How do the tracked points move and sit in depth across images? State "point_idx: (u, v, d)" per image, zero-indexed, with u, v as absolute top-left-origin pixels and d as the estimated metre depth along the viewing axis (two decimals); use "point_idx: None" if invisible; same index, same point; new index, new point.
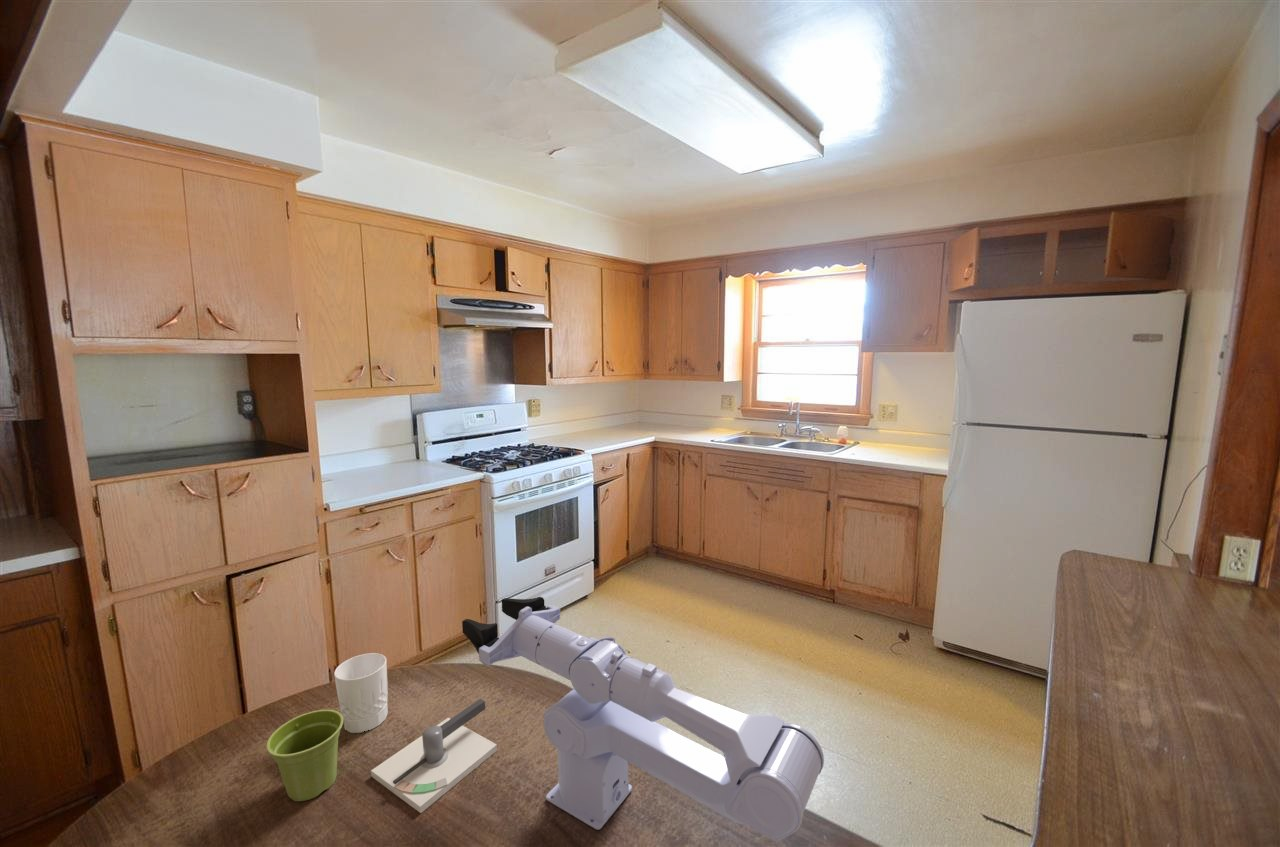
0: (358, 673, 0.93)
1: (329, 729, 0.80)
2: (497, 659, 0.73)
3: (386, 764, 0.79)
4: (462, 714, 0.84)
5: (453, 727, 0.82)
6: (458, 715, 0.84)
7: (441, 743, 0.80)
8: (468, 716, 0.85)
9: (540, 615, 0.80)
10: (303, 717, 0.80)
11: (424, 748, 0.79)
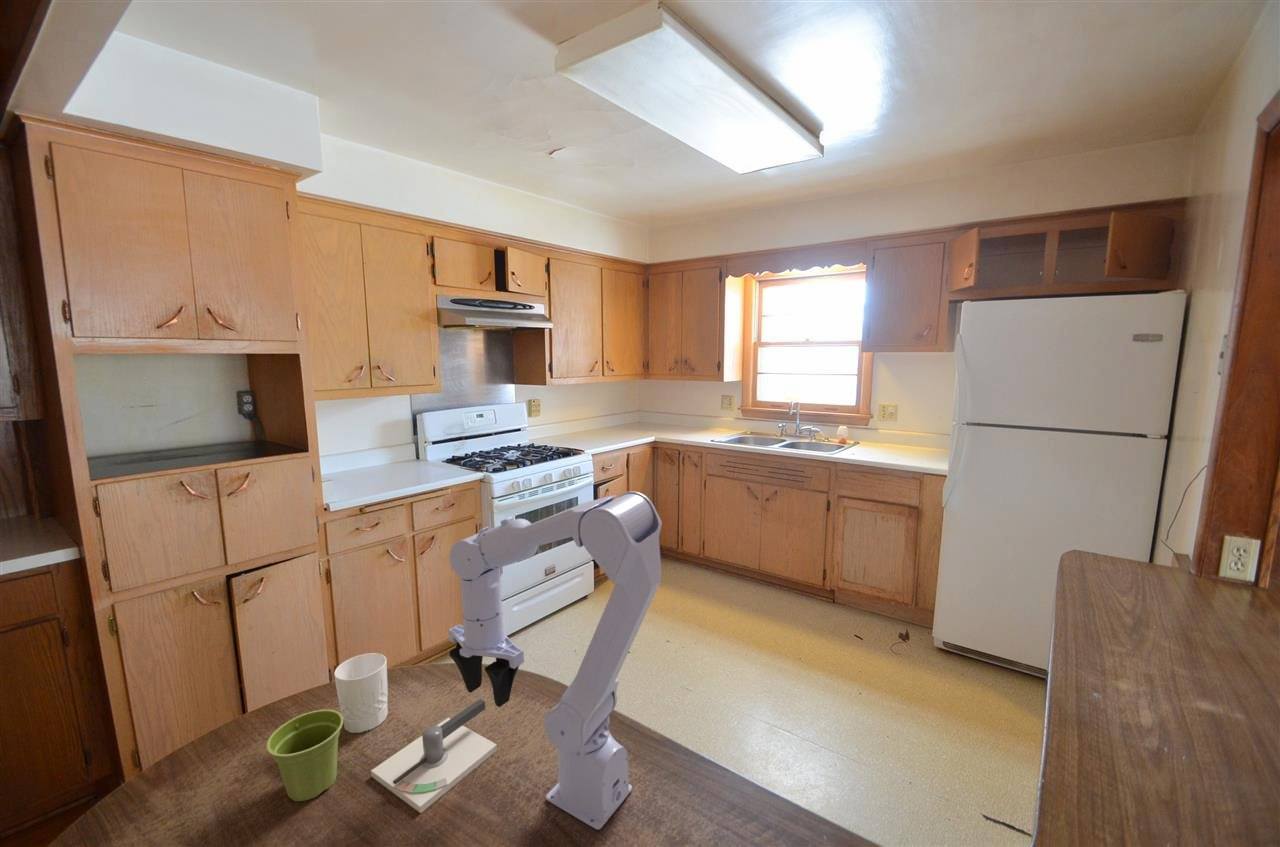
0: (358, 673, 0.93)
1: (329, 729, 0.80)
2: (515, 647, 0.77)
3: (386, 764, 0.79)
4: (462, 714, 0.84)
5: (453, 727, 0.82)
6: (458, 715, 0.84)
7: (441, 743, 0.80)
8: (468, 716, 0.85)
9: (463, 640, 0.80)
10: (303, 717, 0.80)
11: (424, 748, 0.79)
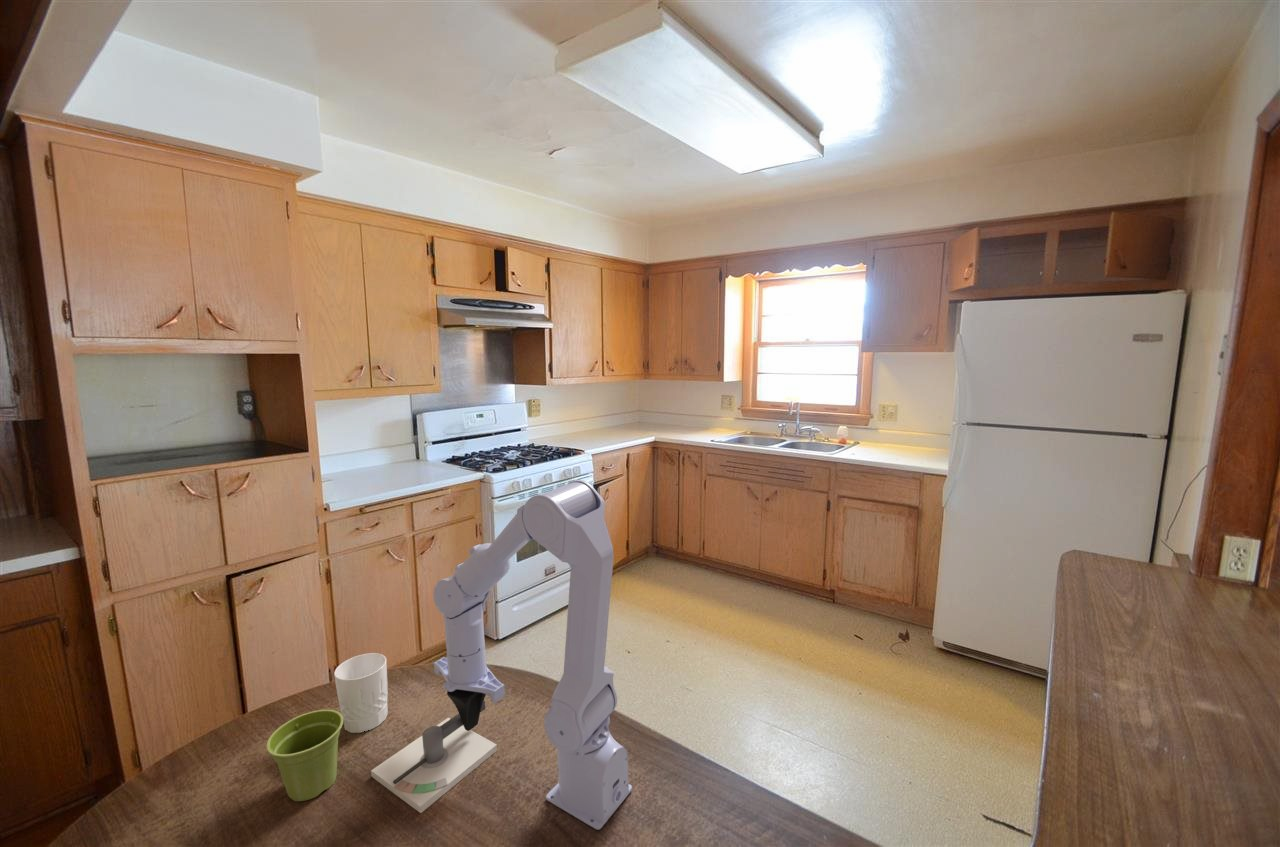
0: (358, 673, 0.93)
1: (329, 729, 0.80)
2: (496, 681, 0.81)
3: (386, 764, 0.79)
4: None
5: (453, 727, 0.82)
6: (458, 715, 0.84)
7: (441, 743, 0.80)
8: None
9: (447, 673, 0.84)
10: (303, 717, 0.80)
11: (424, 748, 0.79)
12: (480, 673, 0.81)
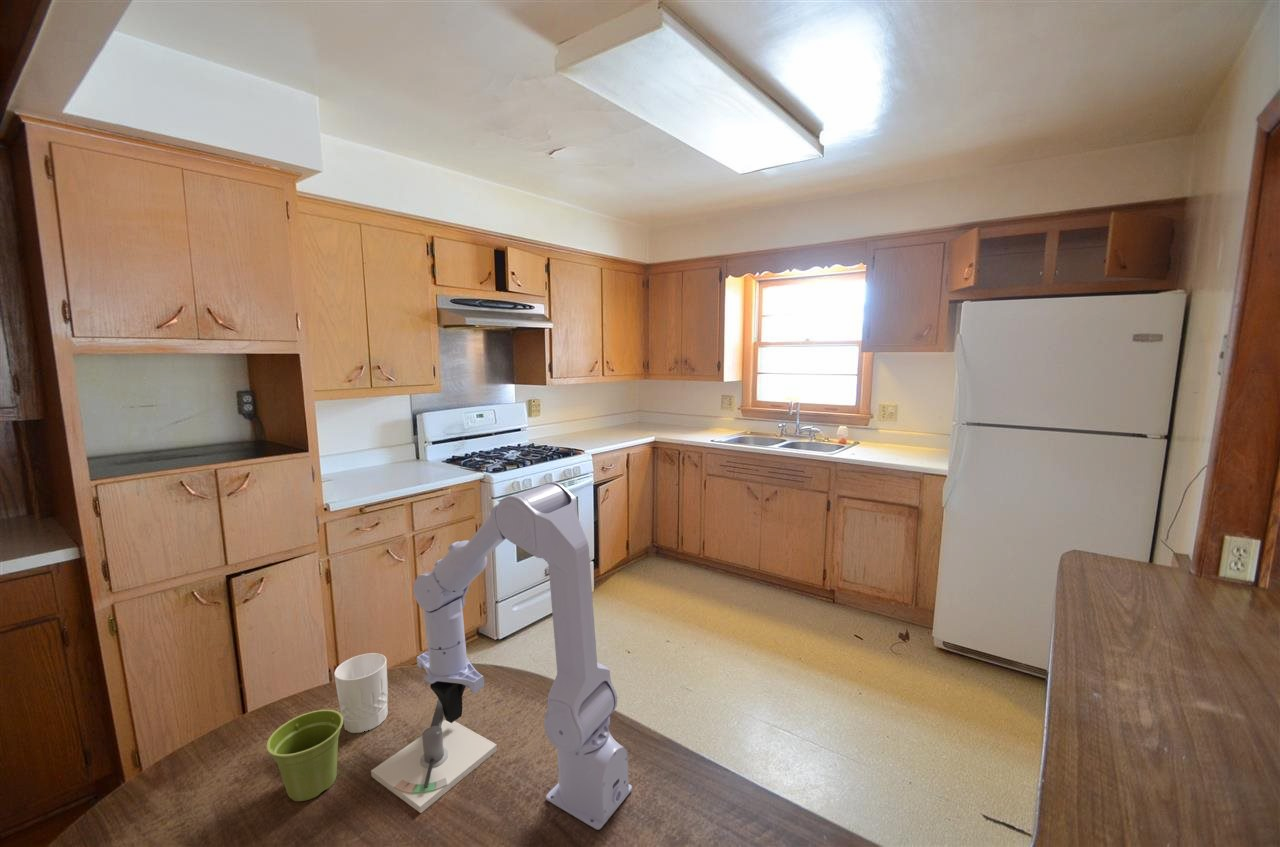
0: (358, 673, 0.93)
1: (329, 729, 0.80)
2: (476, 673, 0.83)
3: (386, 764, 0.79)
4: (439, 711, 0.85)
5: (440, 723, 0.83)
6: (437, 713, 0.84)
7: None
8: None
9: (429, 667, 0.86)
10: (303, 717, 0.80)
11: (430, 749, 0.79)
12: (460, 665, 0.84)
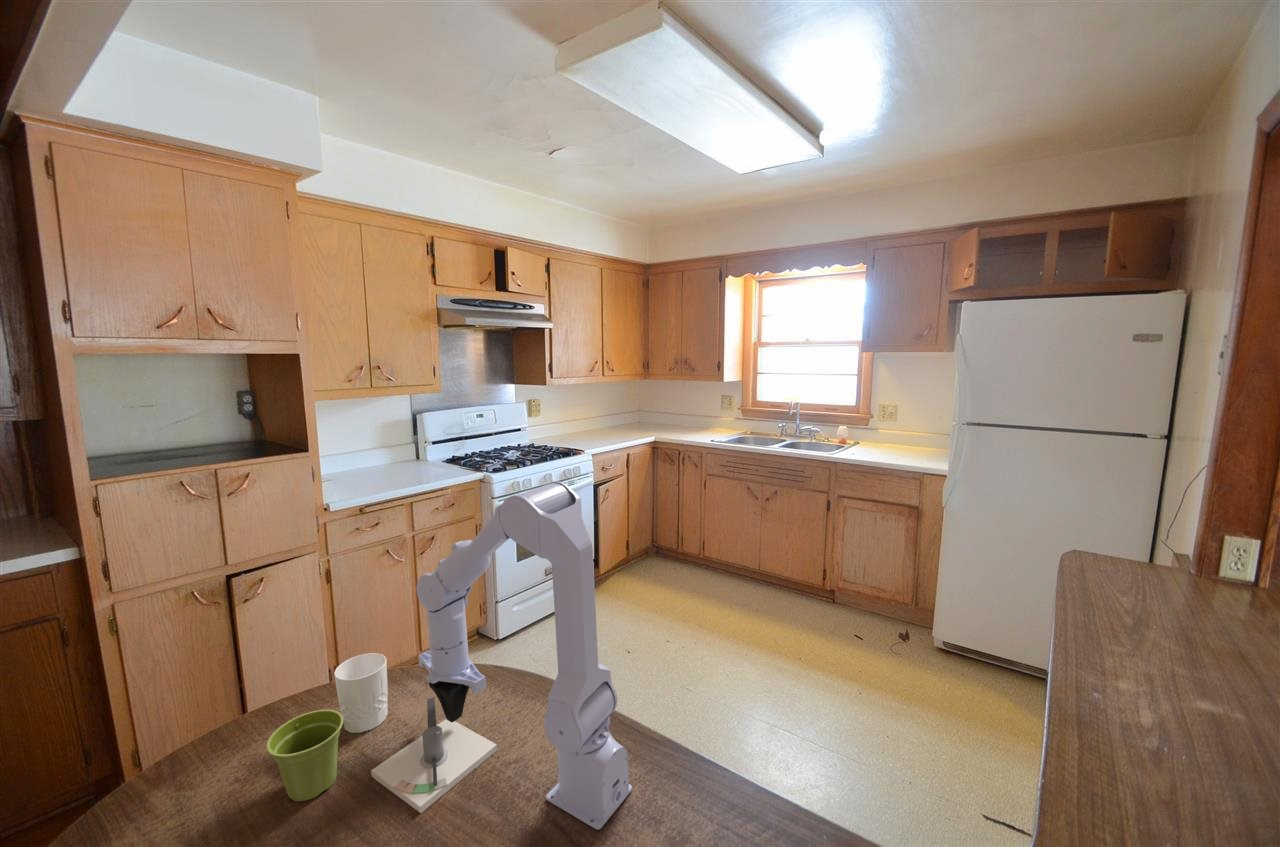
0: (358, 673, 0.93)
1: (329, 729, 0.80)
2: (478, 673, 0.83)
3: (386, 764, 0.79)
4: (432, 712, 0.85)
5: None
6: (430, 715, 0.84)
7: None
8: (435, 712, 0.86)
9: (431, 666, 0.86)
10: (303, 717, 0.80)
11: (432, 749, 0.79)
12: (462, 665, 0.84)
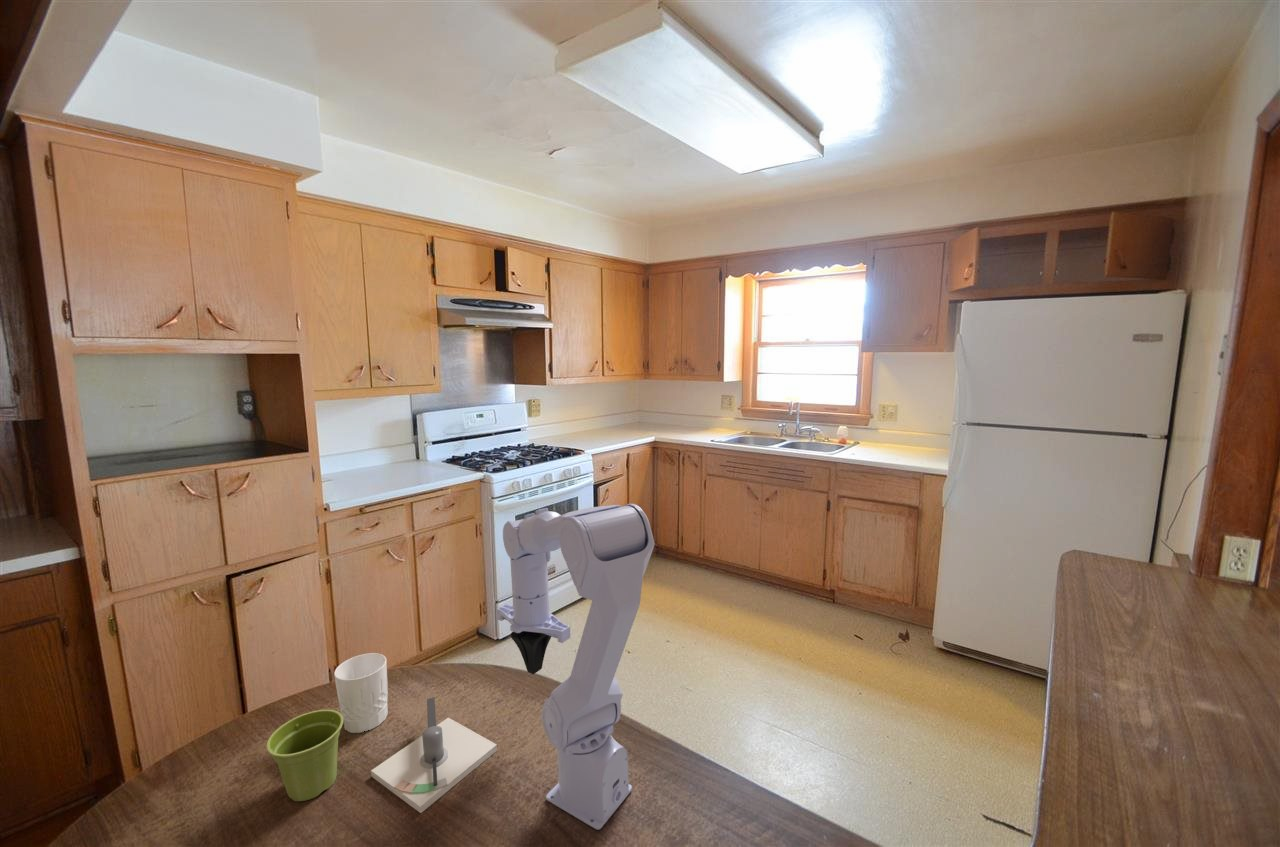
0: (358, 673, 0.93)
1: (329, 729, 0.80)
2: (561, 624, 0.83)
3: (386, 764, 0.79)
4: (432, 712, 0.85)
5: None
6: (430, 715, 0.84)
7: None
8: (435, 712, 0.86)
9: (511, 618, 0.86)
10: (303, 717, 0.80)
11: (432, 749, 0.79)
12: (545, 616, 0.84)
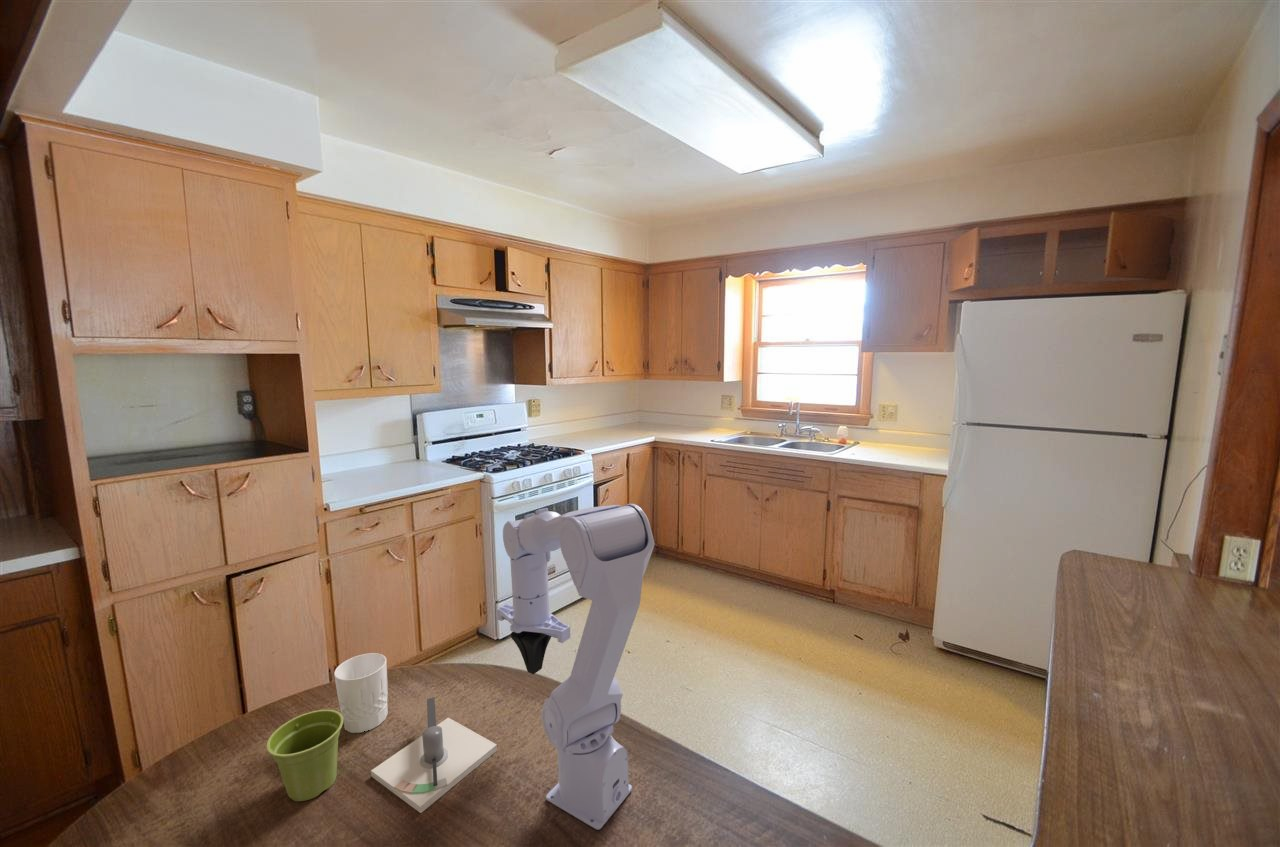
0: (358, 673, 0.93)
1: (329, 729, 0.80)
2: (561, 624, 0.83)
3: (386, 764, 0.79)
4: (432, 712, 0.85)
5: None
6: (430, 715, 0.84)
7: None
8: (435, 712, 0.86)
9: (511, 618, 0.86)
10: (303, 717, 0.80)
11: (432, 749, 0.79)
12: (545, 616, 0.84)
